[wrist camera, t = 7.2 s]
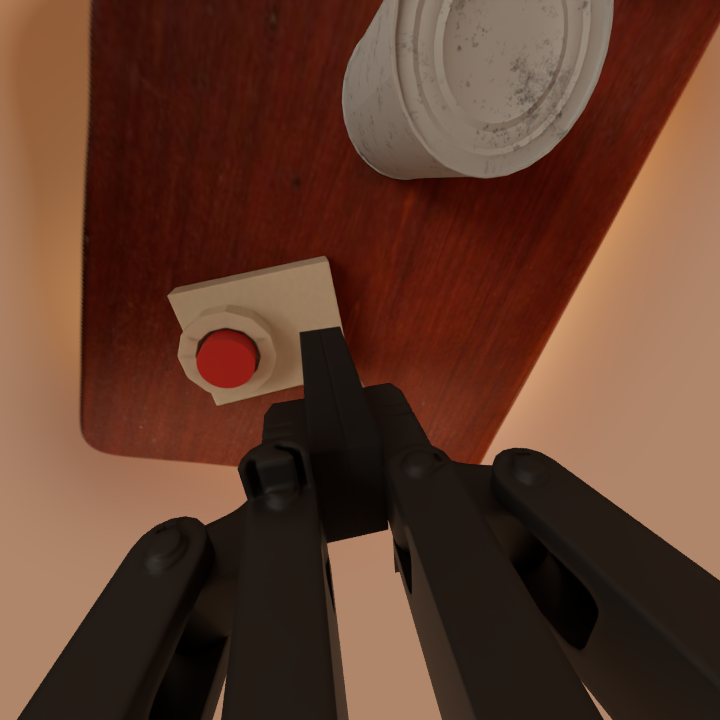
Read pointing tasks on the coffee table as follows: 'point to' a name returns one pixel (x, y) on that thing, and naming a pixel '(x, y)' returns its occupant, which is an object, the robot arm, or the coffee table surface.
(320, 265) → the beige button base
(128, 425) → the coffee table surface
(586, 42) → the unlabeled tin can
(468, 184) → the coffee table surface
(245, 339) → the lamp button
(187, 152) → the coffee table surface
